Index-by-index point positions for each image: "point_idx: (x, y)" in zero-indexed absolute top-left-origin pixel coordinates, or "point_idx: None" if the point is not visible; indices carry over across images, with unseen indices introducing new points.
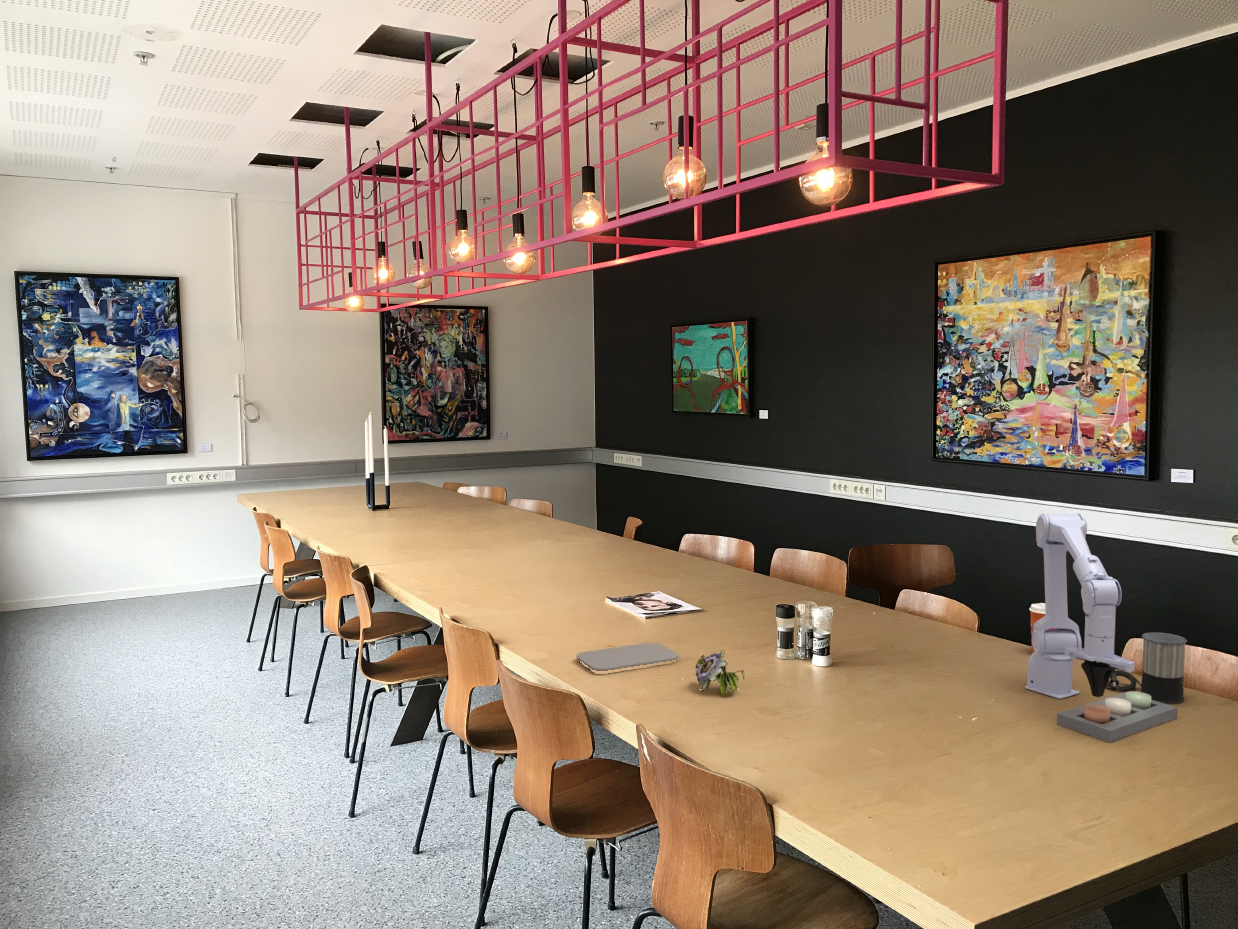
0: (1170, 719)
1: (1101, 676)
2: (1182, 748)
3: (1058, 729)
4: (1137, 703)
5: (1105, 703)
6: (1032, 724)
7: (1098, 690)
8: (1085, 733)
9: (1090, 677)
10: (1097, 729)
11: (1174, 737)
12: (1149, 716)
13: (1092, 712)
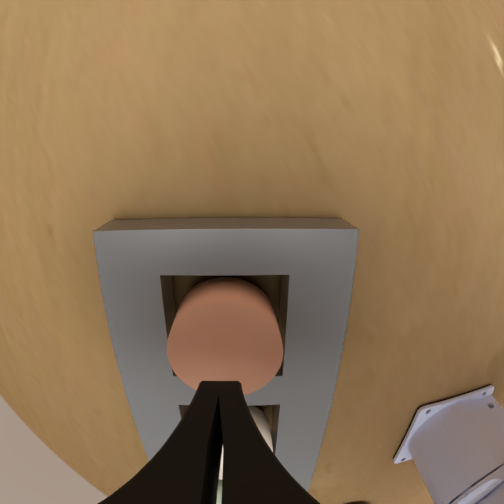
0: None
1: (118, 490)
2: (23, 353)
3: (309, 174)
4: (219, 488)
5: (264, 436)
6: (395, 141)
7: (188, 409)
8: (212, 218)
9: (243, 470)
10: (152, 226)
11: (82, 407)
12: (148, 450)
13: (211, 302)
